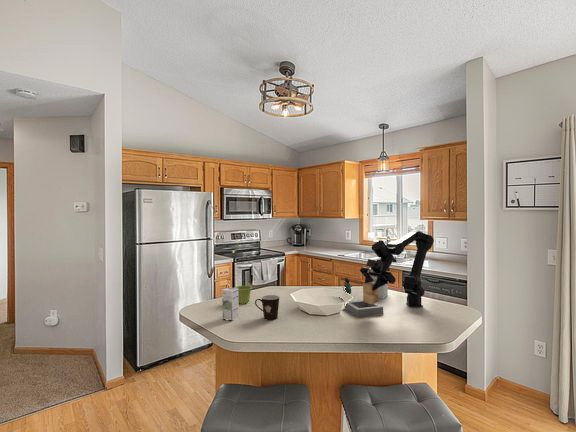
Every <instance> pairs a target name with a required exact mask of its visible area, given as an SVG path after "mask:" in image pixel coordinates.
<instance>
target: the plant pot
mask: <svg viewBox="0 0 576 432" xmlns="http://www.w3.org/2000/svg"><path fill="white" fill-rule="evenodd" d="M234 288H238V303H246V304H247V303H248V302H249V303H250V298H251V291H252V289H253V287H252V286H251V285H240V286H235V287H234ZM249 303H248V304H249Z"/></svg>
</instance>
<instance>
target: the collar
mask: <svg viewBox="0 0 576 432" xmlns="http://www.w3.org/2000/svg"><path fill="white" fill-rule="evenodd" d="M348 302H349V303H347V304H346V306H345V305H344V309H345V310H346V311H347V312H349V313H351V314H353V315H354V316H355V317H357V318H362V317H369V316H378V315H380V316H381V315H384V306H383V305H380V304H379V303H375V304H368V303H365V302H363V299H361V300H353V301H348Z"/></svg>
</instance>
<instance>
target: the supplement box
mask: <svg viewBox="0 0 576 432" xmlns="http://www.w3.org/2000/svg"><path fill="white" fill-rule="evenodd" d="M368 268H369V269H370V271H372V272H373V270H371V267H368ZM387 272H389V271H387ZM372 278H373V280H374V281H373V282H372V283H375V282H376V280H377V277H376V276H373V277H372ZM388 284H389V283H388ZM388 284H385V285H383V286H381V287H379V288H378V299H381V300H384V299H385V298H387V297H388V296H389V295H388V293H389V292H388V291H389V289H388V288H389V287H388V286H389V285H388Z"/></svg>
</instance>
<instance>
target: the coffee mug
mask: <svg viewBox="0 0 576 432" xmlns="http://www.w3.org/2000/svg"><path fill="white" fill-rule="evenodd" d="M257 301H260V302H261V304H262V308H261V307H259V305H258V303H257ZM254 305H255V306H256V307H257V308H258V309H259V310H260V311H262V312H263V319H264V320H265V319H267V320H266V321H275V320H277V319H278V314H279V307H280V296H279V295H275V294H267V295H262V296H261V298H256V300H255V301H254Z"/></svg>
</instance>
